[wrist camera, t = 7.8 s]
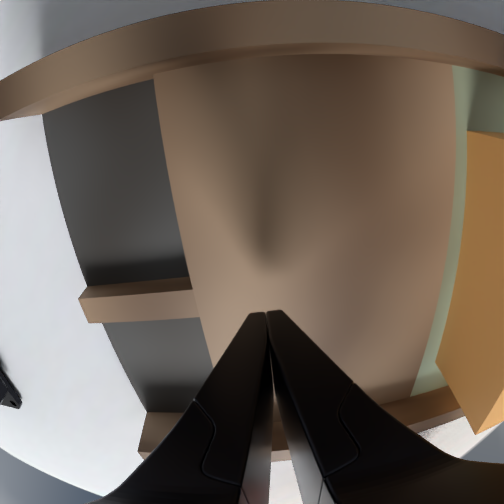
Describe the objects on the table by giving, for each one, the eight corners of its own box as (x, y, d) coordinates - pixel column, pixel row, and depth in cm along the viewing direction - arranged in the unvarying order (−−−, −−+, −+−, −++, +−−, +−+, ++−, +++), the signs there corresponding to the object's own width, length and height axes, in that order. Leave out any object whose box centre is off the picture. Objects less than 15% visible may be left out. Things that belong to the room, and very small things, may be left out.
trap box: (154, 420, 14) (145, 461, 11) (41, 85, 7) (-9, 86, 5) (544, 340, 13) (563, 364, 11) (591, 94, 6) (625, 103, 4)
